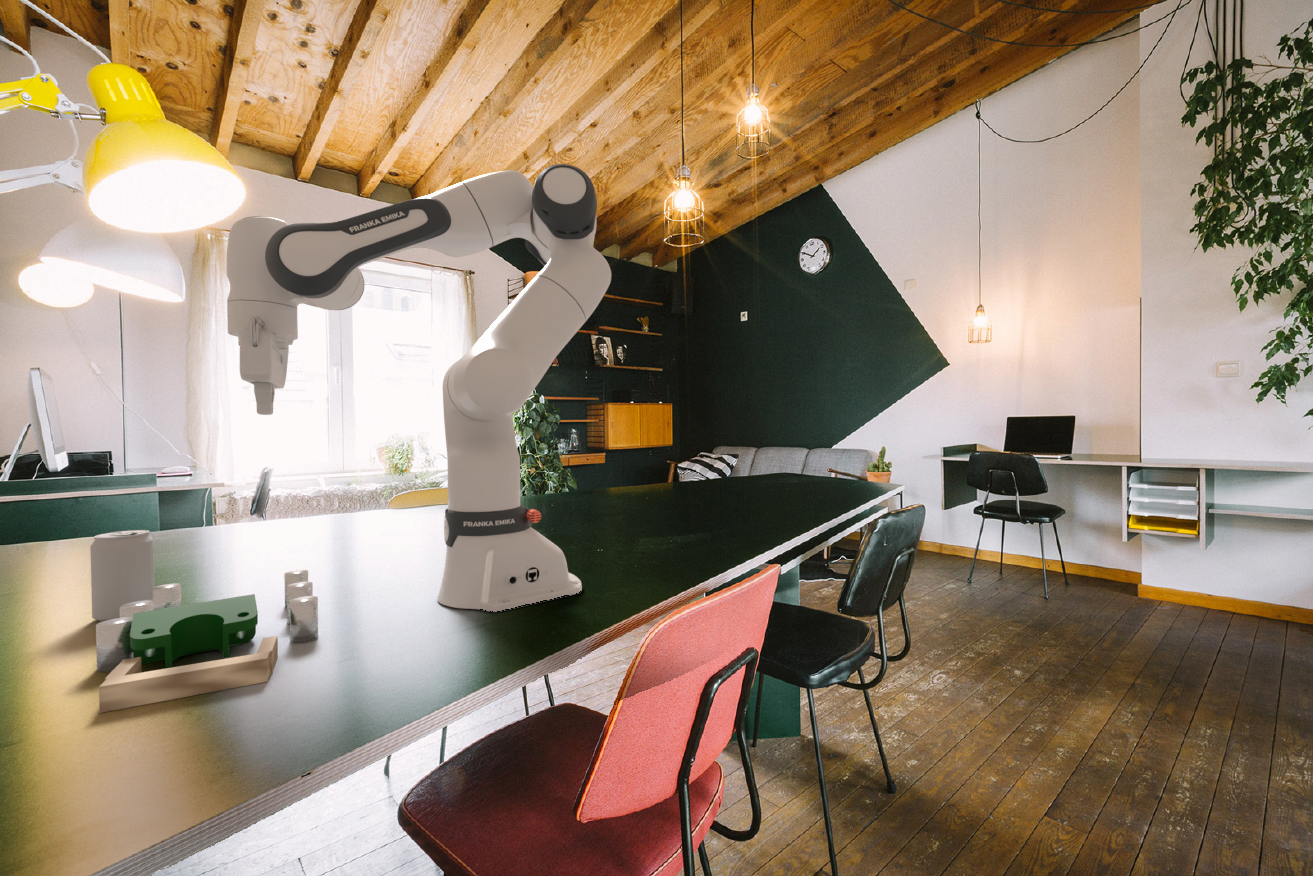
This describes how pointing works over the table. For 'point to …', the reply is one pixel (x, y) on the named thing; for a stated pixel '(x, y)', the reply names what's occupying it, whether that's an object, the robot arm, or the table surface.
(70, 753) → the table surface
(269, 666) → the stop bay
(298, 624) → the spacers
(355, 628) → the table surface
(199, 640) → the clamp
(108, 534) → the beverage can
